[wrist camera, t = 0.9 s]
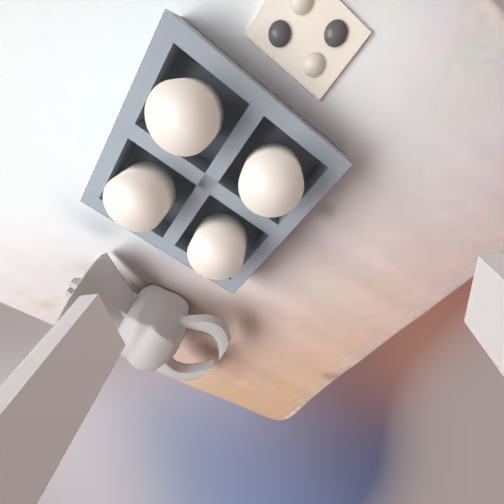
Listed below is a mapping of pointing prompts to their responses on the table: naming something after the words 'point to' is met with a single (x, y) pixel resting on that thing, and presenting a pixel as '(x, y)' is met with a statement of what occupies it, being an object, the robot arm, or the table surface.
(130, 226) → the button
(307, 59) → the card
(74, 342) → the robot arm
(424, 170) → the table surface
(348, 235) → the table surface
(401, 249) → the table surface
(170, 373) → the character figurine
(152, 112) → the button
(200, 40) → the button board
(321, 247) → the table surface
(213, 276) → the button
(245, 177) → the button
